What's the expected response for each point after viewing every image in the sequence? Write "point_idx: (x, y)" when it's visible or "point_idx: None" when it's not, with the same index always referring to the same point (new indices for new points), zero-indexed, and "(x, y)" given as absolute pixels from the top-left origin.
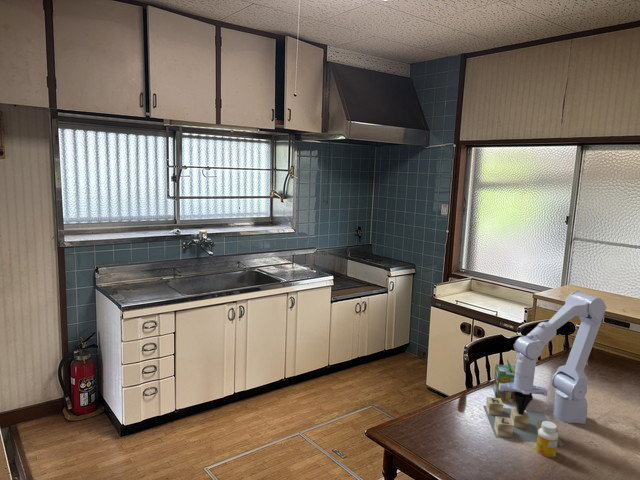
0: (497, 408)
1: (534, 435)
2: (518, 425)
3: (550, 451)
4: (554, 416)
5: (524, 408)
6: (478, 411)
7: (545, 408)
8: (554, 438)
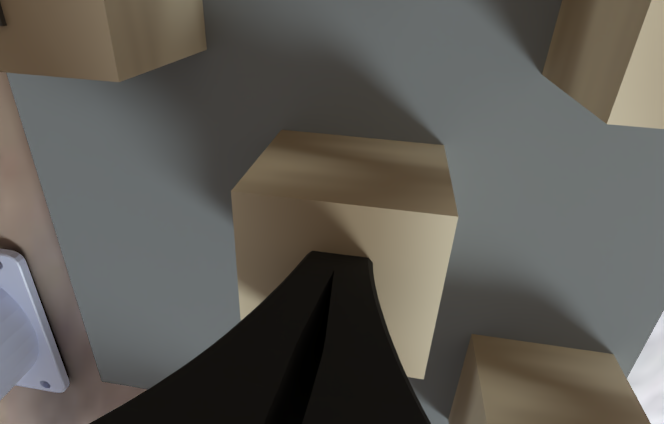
0: (547, 404)
1: None
2: (388, 149)
3: None
4: (20, 329)
5: (276, 307)
6: (646, 404)
7: (89, 421)
8: None
